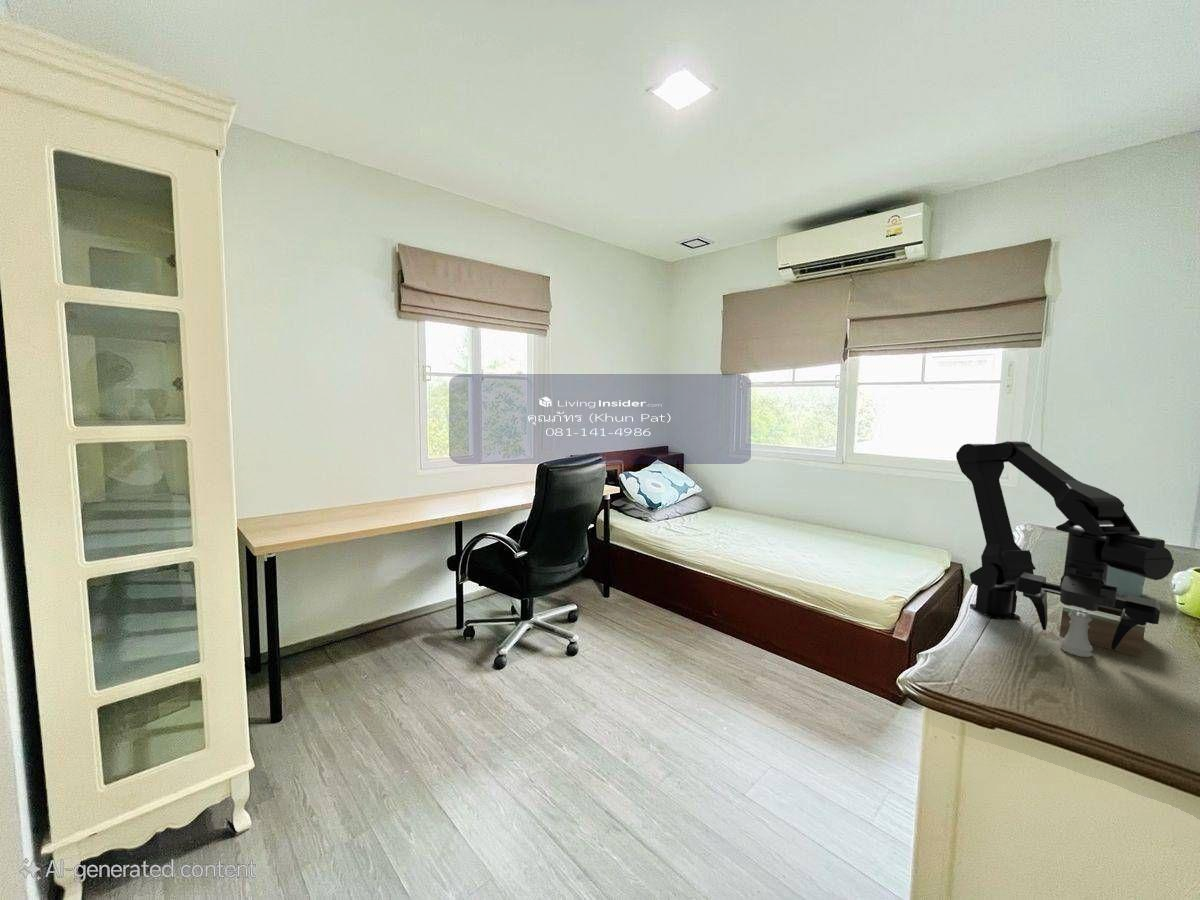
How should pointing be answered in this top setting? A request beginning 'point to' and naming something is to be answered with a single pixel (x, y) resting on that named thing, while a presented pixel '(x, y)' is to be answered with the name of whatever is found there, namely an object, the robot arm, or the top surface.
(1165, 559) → the robot arm
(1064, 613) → the box
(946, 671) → the top surface
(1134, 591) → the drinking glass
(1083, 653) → the rook chess piece
